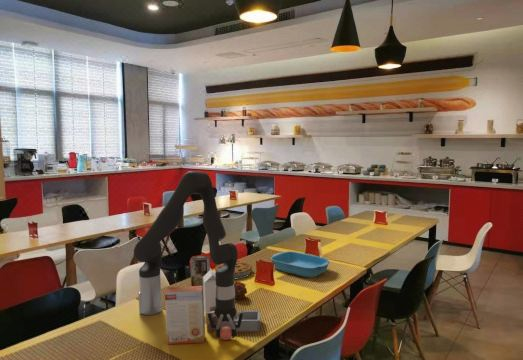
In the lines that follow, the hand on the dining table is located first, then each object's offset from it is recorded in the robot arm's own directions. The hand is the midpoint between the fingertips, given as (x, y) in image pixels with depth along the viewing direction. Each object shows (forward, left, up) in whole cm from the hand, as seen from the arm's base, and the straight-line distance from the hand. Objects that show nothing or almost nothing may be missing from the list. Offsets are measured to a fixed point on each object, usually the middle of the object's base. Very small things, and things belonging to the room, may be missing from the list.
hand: (226, 337), depth 154 cm
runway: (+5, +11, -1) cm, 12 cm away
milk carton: (-9, +26, -1) cm, 28 cm away
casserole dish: (+35, +81, -1) cm, 88 cm away
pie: (-4, +76, -1) cm, 76 cm away
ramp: (-5, +11, -1) cm, 12 cm away
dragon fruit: (+1, +41, -1) cm, 41 cm away
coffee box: (-19, +54, -1) cm, 57 cm away
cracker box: (-16, 0, -1) cm, 16 cm away
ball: (0, 0, +2) cm, 2 cm away
